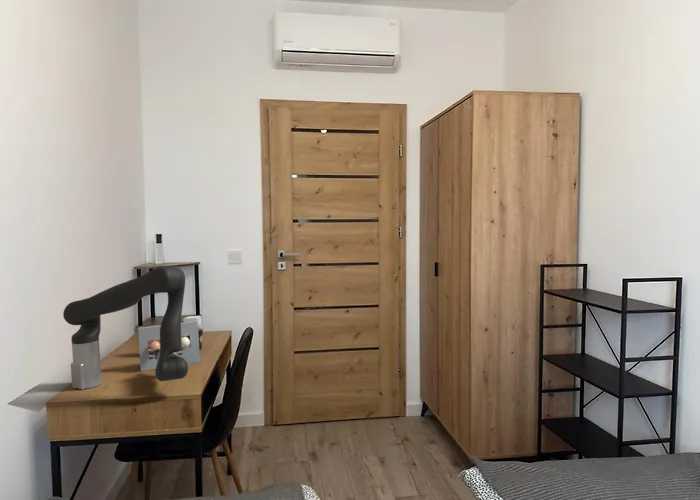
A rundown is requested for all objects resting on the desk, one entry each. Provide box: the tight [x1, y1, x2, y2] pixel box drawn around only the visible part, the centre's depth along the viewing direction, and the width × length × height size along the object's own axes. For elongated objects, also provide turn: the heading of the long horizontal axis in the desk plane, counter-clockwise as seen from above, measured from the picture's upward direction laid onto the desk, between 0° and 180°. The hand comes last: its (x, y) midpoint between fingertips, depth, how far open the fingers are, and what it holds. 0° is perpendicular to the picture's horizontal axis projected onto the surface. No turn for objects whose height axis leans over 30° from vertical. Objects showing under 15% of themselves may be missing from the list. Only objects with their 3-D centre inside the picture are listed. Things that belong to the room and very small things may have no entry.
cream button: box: [181, 336, 190, 347], centre depth 207 cm, size 6×4×4 cm, turn 25°
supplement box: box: [182, 315, 202, 328], centre depth 253 cm, size 7×7×13 cm
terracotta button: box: [150, 340, 160, 351], centre depth 200 cm, size 6×4×4 cm, turn 25°
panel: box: [137, 321, 201, 372], centre depth 208 cm, size 9×24×18 cm, turn 115°
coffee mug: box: [187, 327, 204, 351], centre depth 234 cm, size 12×9×10 cm
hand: (163, 348), depth 195 cm, fingers closed
